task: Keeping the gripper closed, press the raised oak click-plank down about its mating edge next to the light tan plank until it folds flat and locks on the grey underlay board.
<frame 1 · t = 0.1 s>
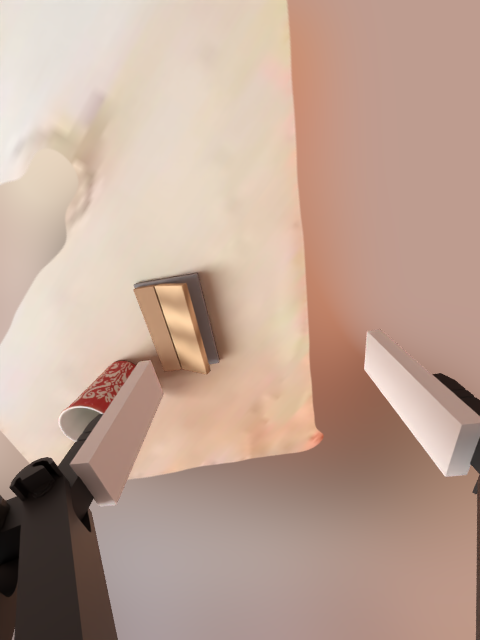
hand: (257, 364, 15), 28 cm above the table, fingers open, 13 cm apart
floor panel: (180, 324, 45), on the table
mug: (131, 379, 51), on the table
plank: (184, 330, 42), point 3 cm above the table, hinge at 28.0°
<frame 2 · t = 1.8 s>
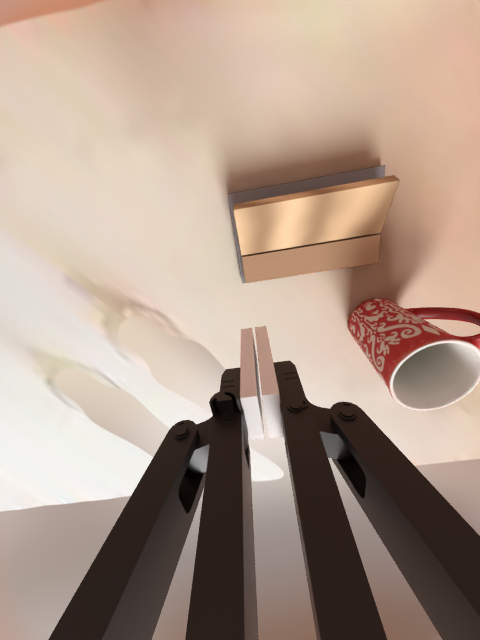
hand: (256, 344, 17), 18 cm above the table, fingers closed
floor panel: (304, 229, 31), on the table
mug: (382, 314, 36), on the table
plank: (310, 219, 27), point 3 cm above the table, hinge at 28.0°
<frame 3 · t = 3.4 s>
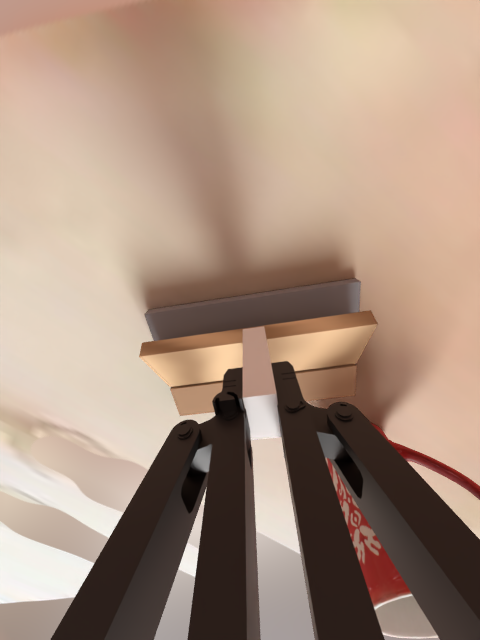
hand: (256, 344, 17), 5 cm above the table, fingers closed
floor panel: (256, 348, 23), on the table
mug: (364, 435, 28), on the table
plank: (256, 353, 20), point 3 cm above the table, hinge at 28.0°, touching gripper
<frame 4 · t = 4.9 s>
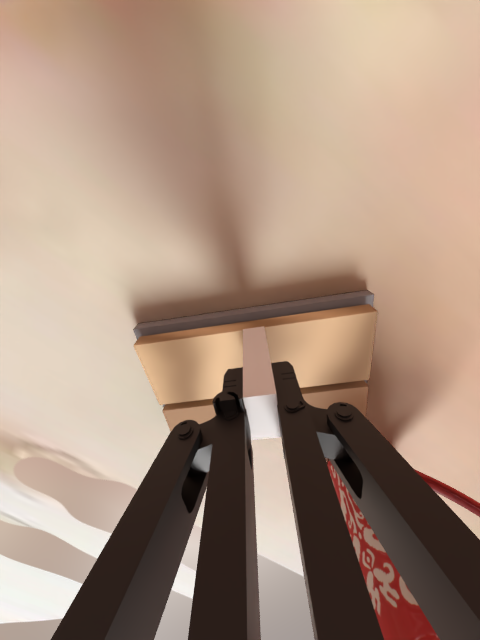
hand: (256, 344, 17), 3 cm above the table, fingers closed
floor panel: (257, 365, 21), on the table
mug: (374, 455, 26), on the table
plank: (256, 358, 18), point 2 cm above the table, hinge at 3.2°, touching gripper
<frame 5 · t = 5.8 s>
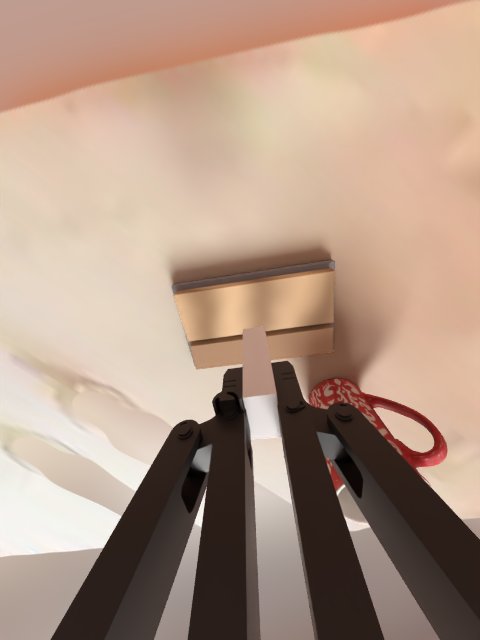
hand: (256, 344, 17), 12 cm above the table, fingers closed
floor panel: (256, 315, 29), on the table
mug: (344, 392, 35), on the table
plank: (255, 306, 27), point 2 cm above the table, hinge at 3.0°
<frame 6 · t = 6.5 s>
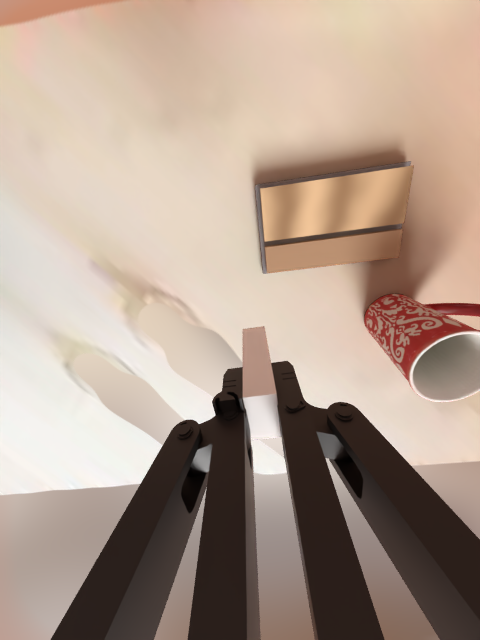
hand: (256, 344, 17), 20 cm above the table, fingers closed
floor panel: (327, 222, 31), on the table
mug: (398, 310, 36), on the table
plank: (332, 206, 29), point 2 cm above the table, hinge at 3.0°
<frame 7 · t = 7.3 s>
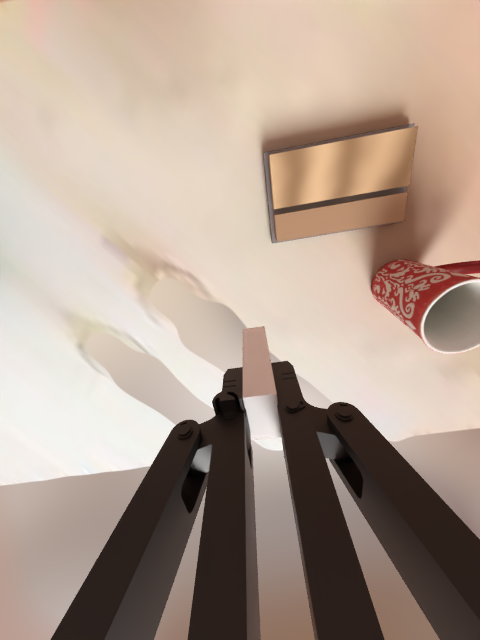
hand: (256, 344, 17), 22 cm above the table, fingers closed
floor panel: (334, 189, 32), on the table
mug: (404, 276, 38), on the table
plank: (339, 170, 30), point 2 cm above the table, hinge at 3.0°
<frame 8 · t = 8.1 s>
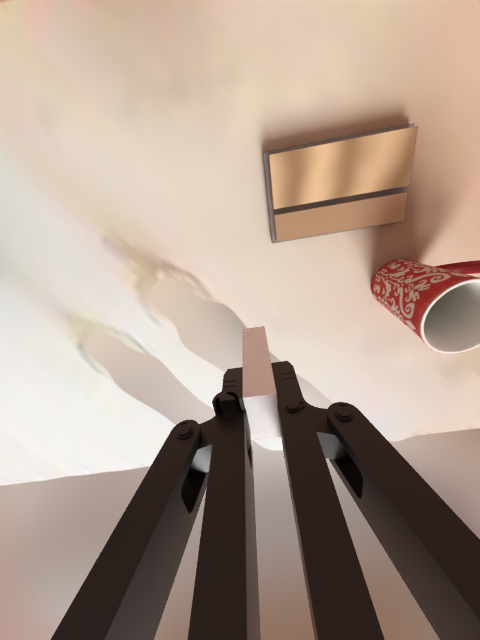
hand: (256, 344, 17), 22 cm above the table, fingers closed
floor panel: (334, 189, 32), on the table
mug: (404, 276, 38), on the table
plank: (339, 170, 30), point 2 cm above the table, hinge at 3.0°
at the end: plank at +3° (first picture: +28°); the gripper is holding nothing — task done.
